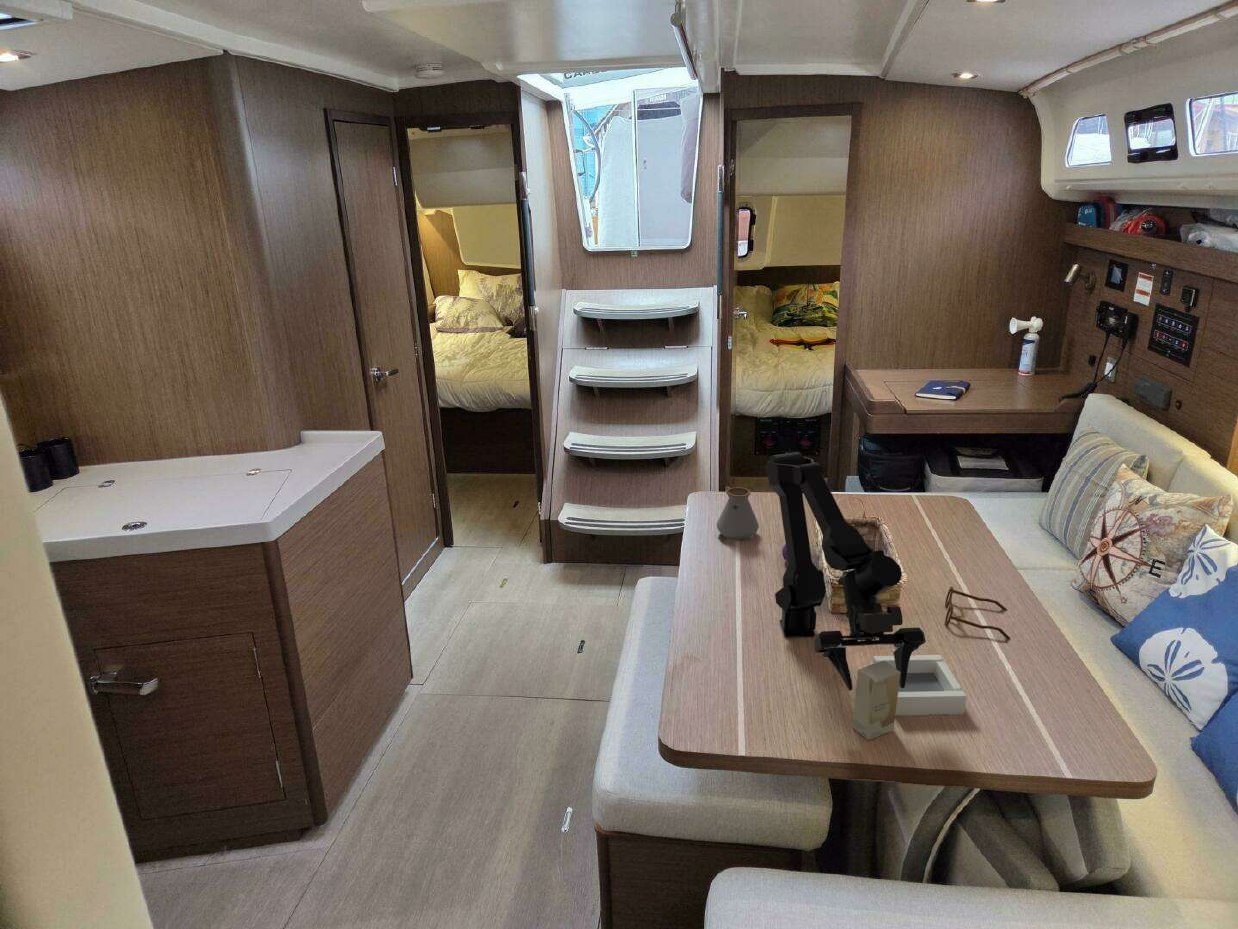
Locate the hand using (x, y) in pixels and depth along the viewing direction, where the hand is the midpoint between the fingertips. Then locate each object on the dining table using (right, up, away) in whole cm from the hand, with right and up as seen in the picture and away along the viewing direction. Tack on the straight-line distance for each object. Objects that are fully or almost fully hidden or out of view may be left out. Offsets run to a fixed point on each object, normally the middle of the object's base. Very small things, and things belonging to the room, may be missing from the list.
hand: (876, 689), depth 141 cm
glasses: (+34, +5, +36) cm, 49 cm away
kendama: (-2, +12, +57) cm, 58 cm away
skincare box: (0, -8, +3) cm, 8 cm away
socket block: (+11, -4, +12) cm, 17 cm away
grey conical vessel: (-14, +18, +75) cm, 78 cm away
